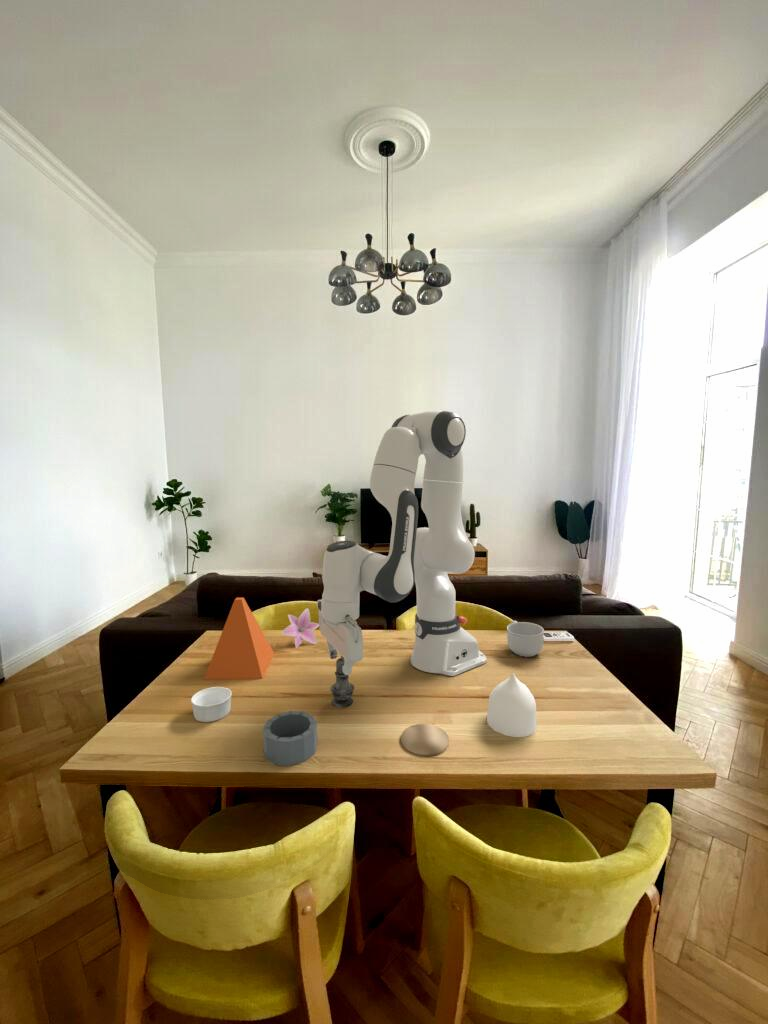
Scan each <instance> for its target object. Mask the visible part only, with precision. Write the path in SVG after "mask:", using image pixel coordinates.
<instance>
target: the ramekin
mask: <svg viewBox="0 0 768 1024" xmlns="http://www.w3.org/2000/svg"><path fill="white" fill-rule="evenodd" d="M232 693H233V692H232V690H231V689H230V688H227V687H223V686H214V687H212V686H211V687H207V688H204V689H202V690H199V691H198V692H196V693H194V694H193V695H192V697H191V699H190V702H191V705H192V713H193V718H194V719H195V720H196V721H198V722H202V723H210V722H216V721H219V720H221V719H223V718H224V717H226V716H227V715H228V714H229V713H230V711H231V704H232V703H231V701H232V696H233V695H232Z"/></svg>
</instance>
